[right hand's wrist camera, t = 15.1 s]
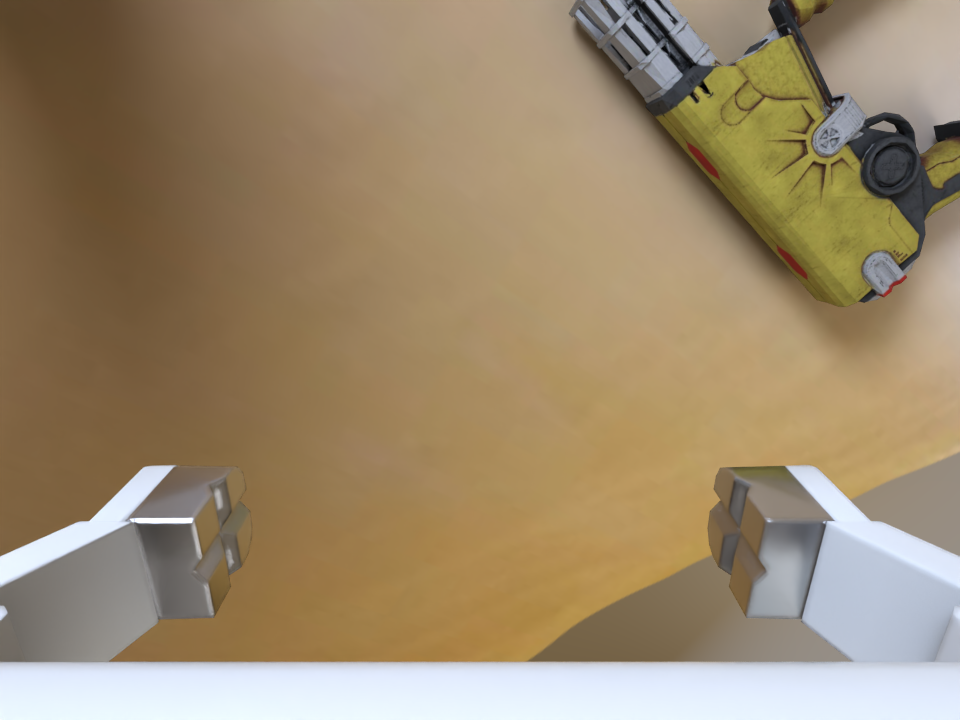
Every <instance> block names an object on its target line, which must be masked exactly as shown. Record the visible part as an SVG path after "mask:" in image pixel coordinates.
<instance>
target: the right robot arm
mask: <svg viewBox="0 0 960 720" xmlns="http://www.w3.org/2000/svg"><path fill="white" fill-rule="evenodd" d="M245 490H246V485H245V480H244V475H243V472H242V471H241V470H240V469H239V468H238V467H226V466H177V465H158V466H147V467H143V468H142V469H141V470H140V471H139V472H138V473H137V474H136V475H135V476H134V477H133V478H132V479H131V480H130V481H129V482H128V483H127V484H126V485H125V486H124V487H123V488H122V489H121V490H120V491H119V492H118V493H117V494H116V495H115V496H114V497H113V498H112V499H111V500H110V501H109V502H108V503H107V504H106V505H105V506H104V507H103V508H102V509H101V510H100V511H99V512H98V513H97V514H96V515H95V516H94V517H93V518H92V519H91V520H90V521H79V522H77V523H75V524H72V525H70V526H68V527H66V528H63V529H61V530H59V531H57V532H54V533H52V534H50V535H48V536H45V537H43V538H41V539H39V540H36V541H34V542H32V543H30V544H27V545H25V546H23V547H21V548H18V549H16V550H14V551H12V552H9V553H7V554H5V555H3V556H0V720H960V557H959V556H957V555H955V554H953V553H951V552H948V551H946V550H944V549H942V548H939V547H937V546H935V545H933V544H930V543H928V542H926V541H924V540H921V539H919V538H917V537H915V536H912V535H910V534H908V533H906V532H903V531H901V530H899V529H897V528H894V527H892V526H890V525H888V524H885V523H883V522H881V521H870V520H869V519H868V518H867V517H866V516H865V515H864V514H863V513H862V512H861V511H860V510H859V509H858V508H857V507H856V506H855V505H854V504H853V503H852V502H851V501H850V500H849V499H848V498H847V497H846V496H845V495H844V494H843V493H842V492H841V491H840V490H839V489H838V488H837V487H836V486H835V485H834V484H833V483H832V482H831V481H830V480H829V479H828V478H827V477H826V476H825V475H824V474H823V473H822V472H821V471H820V470H819V469H818V468H816V467H813V466H811V465H795V466H764V467H726V468H720V469H719V471H718V473H717V475H716V479H715V484H714V490H715V492H716V494H717V495H718V497H719V498H720V501H719V502H718V503H717V505H716V506H715V507H714V508H713V509H712V510H711V511H710V514H709V522H708V538H709V546H710V549H711V552H712V555H713V558H714V560H715V561H716V563H717V565H718V567H719V568H721V569H722V570H724V571H725V572H727V573H728V574H730V575H731V579H730V584H729V587H730V589H731V591H732V593H733V595H734V596H735V598H736V600H737V602H738V603H739V605H740V607H741V609H742V611H743V613H744V614H745V616H746V618H774V619H802V620H801V622H802V623H803V624H805V625H806V626H807V627H809V628H810V629H811V630H812V631H814V632H815V633H816V634H817V635H819V636H820V637H821V638H823V639H824V640H825V641H826V642H828V643H829V644H830V645H831V646H833V647H834V648H835V649H836V650H838V651H839V652H840V653H842V654H843V655H844V656H845V657H847V658H848V659H849V660H850V661H852V662H108V661H110V660H111V659H112V658H114V657H115V656H116V655H117V654H119V653H120V652H121V651H122V650H124V649H125V648H126V647H128V646H129V645H130V644H131V643H133V642H134V641H135V640H136V639H138V638H139V637H140V636H142V635H143V634H144V633H145V632H147V631H148V630H149V629H150V628H152V627H153V626H154V625H156V624H157V623H158V622H159V621H158V619H186V618H214V616H215V615H216V613H217V611H218V609H219V607H220V605H221V604H222V602H223V600H224V598H225V596H226V595H227V593H228V591H229V589H230V587H231V584H230V579H229V575H230V574H232V573H233V572H235V571H236V570H238V569H239V568H241V567H242V565H243V563H244V561H245V559H246V557H247V555H248V552H249V548H250V544H251V539H252V520H251V514H250V511H249V510H248V509H247V508H246V507H245V506H244V505H243V503H242V502H241V501H240V498H241V497H242V495H243V494H244V492H245Z"/></svg>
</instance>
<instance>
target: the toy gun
mask: <svg viewBox="0 0 960 720" xmlns="http://www.w3.org/2000/svg"><path fill="white" fill-rule="evenodd" d="M603 1H604V2H605V4H606V5H607V6H608V7H609V9H608V10H607V11H606V10H605V8H604V7H603V5H602V4H601V2H600V1H599V0H576V2H575V4H574V6H573V7H572V9H571V11H570V12H569V14H570V16H571V17H573V16H574V17H575V18H576V20H577V21H578V22H579V23H580V24H581V25H582V27H583V28H584V29H585V30H586V31H587V32H588V33H589V35H590V36H591V37H592V38H593V39H594V40H595V42H596V43H597V45H596V46H597V47H598V48H599V49H600V48H602V49H603V51H604V52H605V53H606V54H607V55H608V56H609V57H610V59H611V60H612V61H613V62H614V63H615V64H616V65H617V66H618V68H619V69H620V70H621V71H622V72H623V73H624V74H625V75H624V77H625V78H626V80H628V79H629V80H630V81H631V83H632V84H633V85H634V86H635V87H636V89H637V90H638V91H639V92H640V94H641V95H642V96H643V97H644V100H645V101H646V102H647V104H646V108H647V109H648V110H649V111H650V112H651V113H652V114H653V115H654V116H655V117H656V118H657V119H658V121H659V122H660V123H661V124H662V125H663V126H664V127H665V129H666V130H667V131H668V132H669V133H670V134H671V135H672V137H673V138H674V139H675V140H676V141H677V142H678V143H679V144H680V146H681V147H682V148H683V149H684V150H685V151H686V152H687V154H688V155H689V156H690V157H691V158H692V159H693V160H694V162H695V163H696V164H697V165H698V166H699V167H700V168H701V169H702V171H703V172H704V173H705V174H706V175H707V176H708V177H709V179H710V180H711V181H712V182H713V183H714V184H715V185H716V186H717V188H718V189H719V190H720V191H721V192H722V193H723V194H724V196H725V197H726V198H727V199H728V200H729V201H730V202H731V204H732V205H733V206H734V207H735V208H736V209H737V210H738V211H739V213H740V214H741V215H742V216H743V217H744V218H745V219H746V221H747V222H748V223H749V224H750V225H751V226H752V227H753V228H754V230H755V231H756V232H757V233H758V234H759V235H760V236H761V238H762V239H763V240H764V241H765V242H766V243H767V244H768V246H769V247H770V248H771V249H772V250H773V251H774V252H775V253H776V255H777V256H778V257H779V258H780V259H781V260H782V261H783V263H784V264H785V265H786V266H787V267H788V268H789V269H790V270H791V272H792V273H793V274H794V275H795V276H796V277H797V278H798V280H799V281H800V282H801V283H802V284H803V285H804V286H805V288H806V289H807V290H808V291H809V292H810V293H811V294H812V295H813V297H814V298H815V299H816V300H819V301H823V302H827V303H830V304H833V305H835V306H838V307H847V306H849V305H852V304H854V303H857V302H864V303H865V302H868V301H872V300H877V299H878V298H880V297H881V296H882V297H885V296H886V295H888V294H889V293H890V292H892V288H893V286H895V285H898V284H900V283H902V282H903V281H904V280H905V279H906V278H907V276H906V275H905V274H906V273H907V272H908V271H909V270H910V269H912V266H913V264H914V262H915V260H916V258H918V257H919V255H920V252H921V248H922V244H923V241H924V237H925V224H924V221H925V219H926V218H927V217H929V216H930V215H931V214H933V213H934V212H936V211H937V210H939V209H941V208H942V207H944V206H946V205H947V204H949V203H951V202H952V201H954V200H956V199H957V198H959V197H960V121H953V122H949V123H947V124H944V125H938V126H934V130H935V135H936V139H937V141H938V143H936V144H935V145H933V146H932V147H931V148H930V149H929V150H927V151H926V152H925V153H923V154H920V155H919V152H918V150H917V148H916V143H915V134H914V130H913V128H912V127H911V125H910V124H909V122H908V121H906V120H905V119H904V118H903V117H901V116H900V115H898V114H892V113H886V112H884V113H882V114H879V115H876V116H873V117H870V118H868V119H867V120H866V117H867V116H866V115H865V114H864V113H863V111H862V110H861V109H860V108H859V106H858V105H857V104H856V102H855V101H854V100H853V99H852V97H851V96H850V94H849V93H844V94H840V95H837V96H833V97H832V95H831V93H830V91H829V89H828V87H827V85H826V83H825V81H824V79H823V77H822V75H821V73H820V70H819V68H818V66H817V64H816V62H815V60H814V58H813V56H812V54H811V52H810V50H809V48H808V46H807V44H806V42H805V40H804V38H803V36H802V34H801V32H800V30H799V28H800V27H801V26H803V25H804V24H805V23H807V22H808V21H810V19H811V17H812V15H813V14H816V13H822V12H823V11H824V10H826V9H827V8H828V7H829V6H830V5H832V3H833V1H834V0H771V1H770V6H769V8H768V11H769V13H770V15H771V17H772V19H773V21H774V23H775V25H776V27H777V29H778V30H777V29H775V30H773V31H771V32H770V33H769V34H768V35H766V36H765V37H764V38H763V39H762V40H760V41H759V42H758V43H757V44H755V45H753V46H751V47H750V48H749V49H748V50H747V51H746V53H745V54H744V55H743V56H742V57H741V58H740V59H738V60H736V61H734V62H732V63H730V64H728V65H726V66H723V65H722V64H721V63H720V62H719V61H718V59H717V58H716V57H715V56H714V54H713V53H712V52H711V51H710V49H709V46H708V44H707V43H705V44H704V43H703V41H702V40H701V39H700V38H699V36H698V35H697V34H696V33H695V32H694V30H693V29H692V28H691V27H690V25H689V24H688V23H687V21H688V20H687V18H686V17H682V16H681V14H680V13H679V12H678V11H677V9H676V8H675V7H674V6H673V5H672V3H671V2H670V1H669V0H603ZM579 10H580V11H581V12H582V13H581V12H580V11H579ZM883 120H884V121H887V122H889V123H892V124H894V125H895V127H896V129H897V131H896V133H892V132H885V131H880V130H875V129H870V128H869V127H870V126H872V125H874V124H877V123H879V122H881V121H883Z"/></svg>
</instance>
